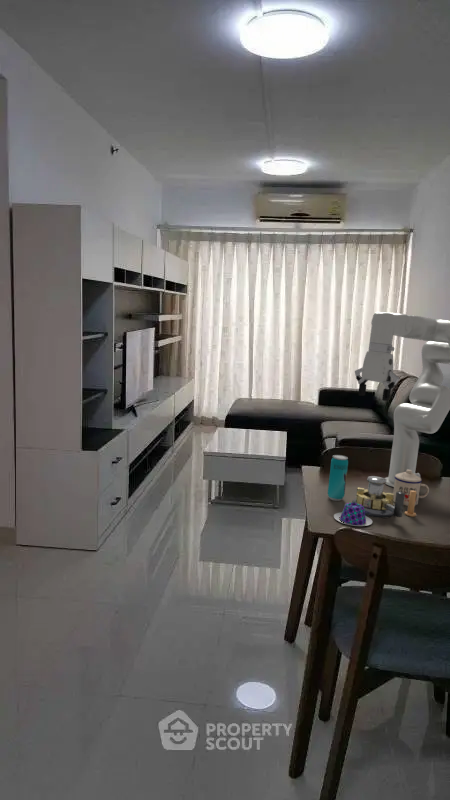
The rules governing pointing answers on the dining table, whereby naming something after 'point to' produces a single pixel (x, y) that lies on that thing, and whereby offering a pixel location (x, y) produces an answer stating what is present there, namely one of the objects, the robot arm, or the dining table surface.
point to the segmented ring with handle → (381, 501)
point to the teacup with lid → (408, 486)
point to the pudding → (353, 515)
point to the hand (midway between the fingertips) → (373, 397)
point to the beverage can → (337, 477)
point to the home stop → (411, 504)
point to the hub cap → (376, 488)
